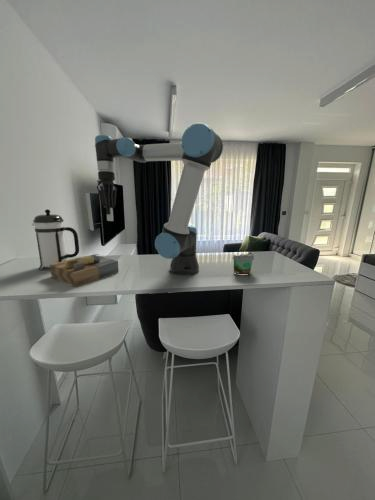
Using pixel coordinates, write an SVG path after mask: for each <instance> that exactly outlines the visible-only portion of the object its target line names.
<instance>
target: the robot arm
mask: <svg viewBox="0 0 375 500" xmlns="http://www.w3.org/2000/svg"><path fill="white" fill-rule="evenodd" d="M94 147H95V155H96V156H95V157H96V162H97V163H96V164H97V176H98V177H97V178H98V180H99V181H100V182H99V185H97V186H96V189H97V191H98V194H99V198H100V202H101V206H102V207H103V208H105V213H106V221H108V222H114V208H115V207H116V206H117V205H116V204H117V203H116V202H117V192H118V187H117V186H115V184H114V181H115V180H116V176H115V175H116V173H115V163H114V159H115V158H116V159H117V158H123V159H128V160H131V161H135V162H138V163H147V162H159V161H160V162H164V161H165V162H168V161H171V162H172V161H173V162H174V161H182V164H183V168H182V171H181V175H180V179H179V182H178V186H177V189H176V193H175V195H174V196H175V197H174V200H173V204H172V207H171V211H170V216H169V218H168V222H165V223H164V224H163V227H162V230H161V231H162V232H161V233H159V234H158V235H157V236H155V237H156V238H155V240H154V248H155V250H156V251H157V254H158V255H160V257H162V258H164V259H166V260H168V259H169V260H170V259H171V262H170V265H169V270H170V272H171V273H173V274H177V275H193V274H197V273H198V272H199V271H200V266H199V262H198V258H197V239H198V238H197V236H198V233H197V228H196V227H195V226H189V223H190V220H191V217H192V213H193V210H194V208H195V203H196V201H197V198H198V194H199V191H200V187H201V185H202V182H203V178H204V174H205V172H206V171H208V170H210V168H211V165H212V164H213V163H215V162H217V161H218V160H219V159H220V157H221V156H222V154H223V150H224V145H223V141H222V138H221V137H220V136H219V135H218V133H216V132H215V131H214V130H213V128H212V127H211V126H209V125H207V124H205V123H204V122H195V123H192V124H191V125H190V126H187V128H186V129H185V130H184V132H183V134H182V136H181V141H180V142H169V143H167V142H166V143H150V144H136V143H135V142H134V141H133V139H132V138H130V137H120V138H119V137H118V138H115V139H113V138H112V137H111V136H110V135H105V134H102V135H101V134H98V135H96V136H95V137H94Z"/></svg>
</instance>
